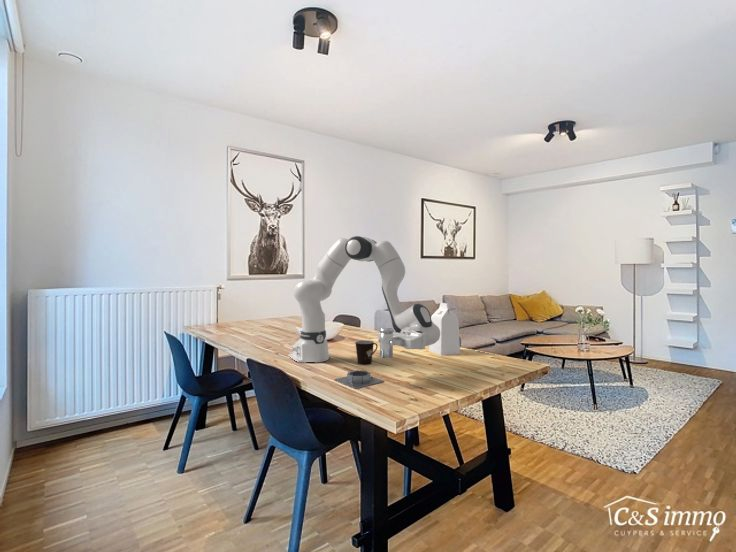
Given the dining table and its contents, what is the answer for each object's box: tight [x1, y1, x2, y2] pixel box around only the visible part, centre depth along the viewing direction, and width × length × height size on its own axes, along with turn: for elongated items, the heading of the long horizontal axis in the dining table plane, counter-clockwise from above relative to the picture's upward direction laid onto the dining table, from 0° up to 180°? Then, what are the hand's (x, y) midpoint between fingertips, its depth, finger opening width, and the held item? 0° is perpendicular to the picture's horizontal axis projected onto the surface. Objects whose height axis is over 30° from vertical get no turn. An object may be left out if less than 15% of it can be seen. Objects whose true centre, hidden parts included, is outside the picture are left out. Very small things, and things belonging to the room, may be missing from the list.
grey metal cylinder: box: [379, 327, 395, 360], centre depth 152 cm, size 5×5×11 cm
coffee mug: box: [354, 339, 379, 366], centre depth 183 cm, size 12×9×10 cm
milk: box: [428, 302, 461, 356], centre depth 206 cm, size 12×12×26 cm
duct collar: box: [333, 369, 385, 390], centre depth 154 cm, size 14×14×3 cm
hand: (384, 341), depth 151 cm, fingers closed on grey metal cylinder, 5 cm apart
